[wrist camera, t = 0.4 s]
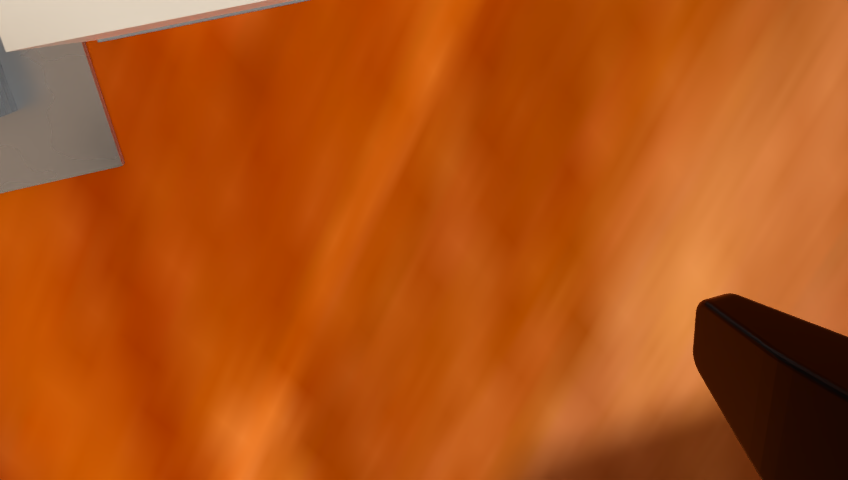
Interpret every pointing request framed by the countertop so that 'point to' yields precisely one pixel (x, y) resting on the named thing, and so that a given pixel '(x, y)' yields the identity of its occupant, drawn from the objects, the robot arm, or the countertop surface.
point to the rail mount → (52, 117)
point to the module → (108, 18)
